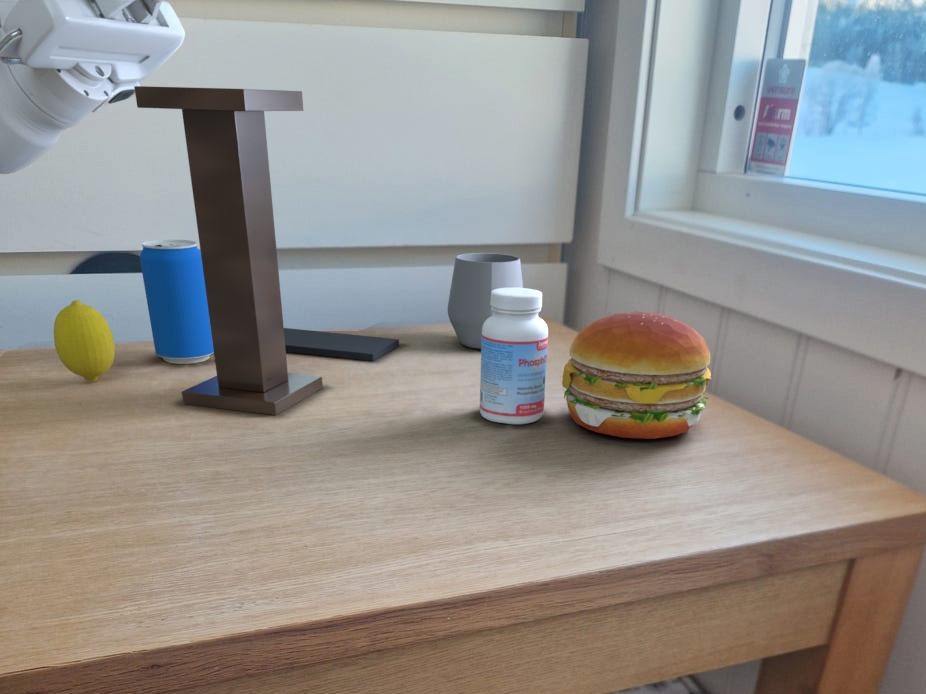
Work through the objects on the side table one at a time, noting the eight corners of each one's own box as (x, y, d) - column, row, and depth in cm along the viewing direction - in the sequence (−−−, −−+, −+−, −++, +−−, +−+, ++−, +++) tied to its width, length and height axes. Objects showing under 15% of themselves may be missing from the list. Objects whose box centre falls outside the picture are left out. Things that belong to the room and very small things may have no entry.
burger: (651, 460, 74) (667, 339, 69) (528, 424, 82) (533, 311, 77) (729, 426, 83) (749, 315, 78) (611, 396, 91) (622, 293, 85)
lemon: (106, 372, 94) (91, 293, 90) (130, 383, 91) (115, 301, 86) (54, 381, 90) (35, 299, 86) (77, 393, 87) (59, 308, 83)
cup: (444, 336, 112) (445, 251, 107) (517, 336, 113) (521, 251, 108) (451, 354, 104) (451, 263, 99) (529, 354, 105) (533, 264, 100)
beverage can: (191, 348, 103) (175, 237, 97) (228, 357, 100) (214, 243, 94) (144, 359, 99) (124, 243, 93) (181, 368, 96) (163, 249, 89)
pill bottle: (528, 430, 81) (535, 301, 75) (468, 420, 83) (470, 293, 77) (552, 412, 85) (561, 289, 79) (495, 403, 87) (499, 283, 82)
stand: (182, 403, 85) (133, 86, 71) (237, 378, 93) (202, 88, 80) (275, 415, 82) (243, 88, 69) (323, 387, 91) (302, 91, 77)
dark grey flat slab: (218, 344, 105) (218, 338, 105) (252, 331, 112) (252, 324, 111) (373, 361, 100) (373, 353, 100) (399, 345, 107) (399, 338, 107)
